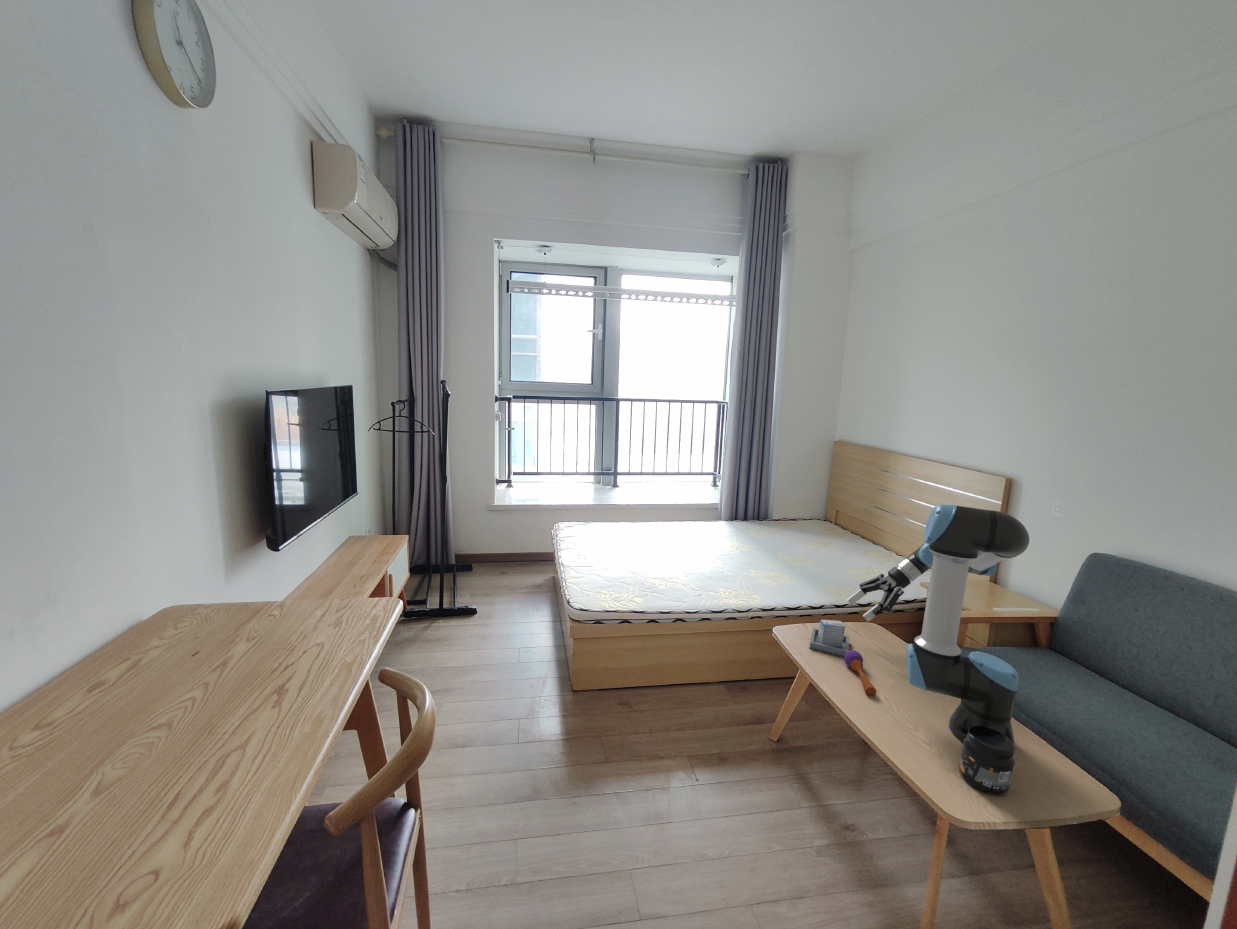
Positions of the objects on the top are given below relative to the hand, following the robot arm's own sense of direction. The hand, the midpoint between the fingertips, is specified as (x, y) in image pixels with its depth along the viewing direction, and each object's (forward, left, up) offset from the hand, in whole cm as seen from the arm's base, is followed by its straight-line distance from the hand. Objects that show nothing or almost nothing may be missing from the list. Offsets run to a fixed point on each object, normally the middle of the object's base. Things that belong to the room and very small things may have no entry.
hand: (856, 610), depth 190 cm
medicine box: (-4, +8, -14) cm, 17 cm away
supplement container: (-57, -31, -15) cm, 67 cm away
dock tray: (-4, +8, -15) cm, 17 cm away
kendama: (-22, -3, -15) cm, 27 cm away
